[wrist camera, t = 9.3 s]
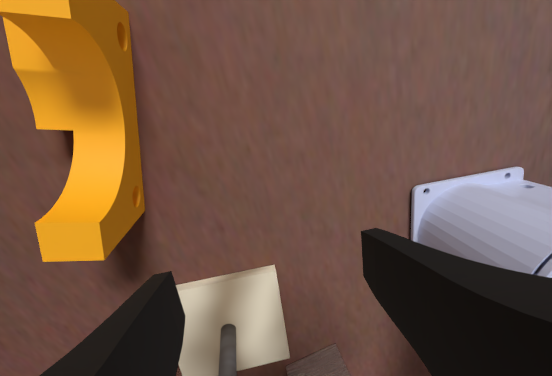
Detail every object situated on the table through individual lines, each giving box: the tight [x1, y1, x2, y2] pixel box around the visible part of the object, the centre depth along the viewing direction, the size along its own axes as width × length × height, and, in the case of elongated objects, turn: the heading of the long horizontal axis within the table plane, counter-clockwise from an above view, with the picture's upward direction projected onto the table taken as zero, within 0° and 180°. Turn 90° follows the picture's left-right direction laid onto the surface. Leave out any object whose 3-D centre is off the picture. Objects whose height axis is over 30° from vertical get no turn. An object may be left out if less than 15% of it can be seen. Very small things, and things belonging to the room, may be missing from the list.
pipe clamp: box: [0, 0, 145, 262], centre depth 14 cm, size 12×4×6 cm, turn 177°
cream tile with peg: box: [176, 265, 290, 376], centre depth 20 cm, size 9×9×5 cm
